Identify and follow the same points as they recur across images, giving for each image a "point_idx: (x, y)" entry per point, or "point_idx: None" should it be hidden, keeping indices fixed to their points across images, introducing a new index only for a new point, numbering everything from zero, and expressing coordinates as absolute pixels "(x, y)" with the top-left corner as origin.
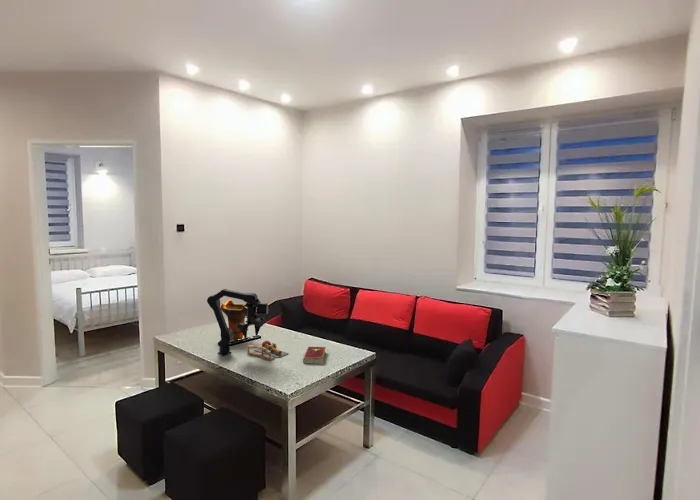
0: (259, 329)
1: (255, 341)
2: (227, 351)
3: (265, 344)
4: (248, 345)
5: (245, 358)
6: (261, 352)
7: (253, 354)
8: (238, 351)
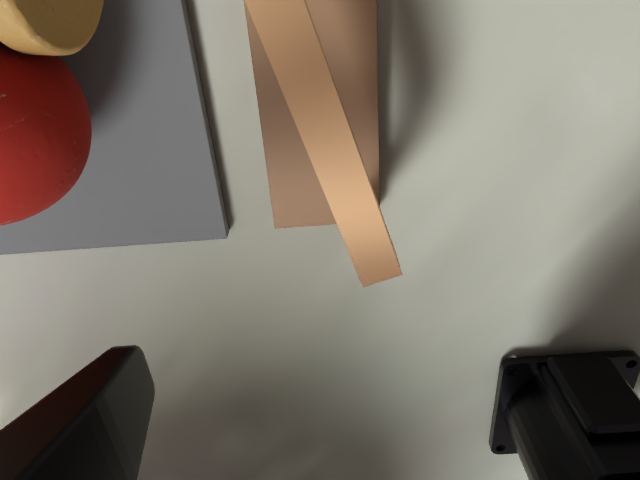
0: None
1: None
2: (607, 378)
3: (15, 20)
4: (395, 258)
5: (570, 30)
6: (188, 35)
7: (375, 52)
8: (397, 351)
